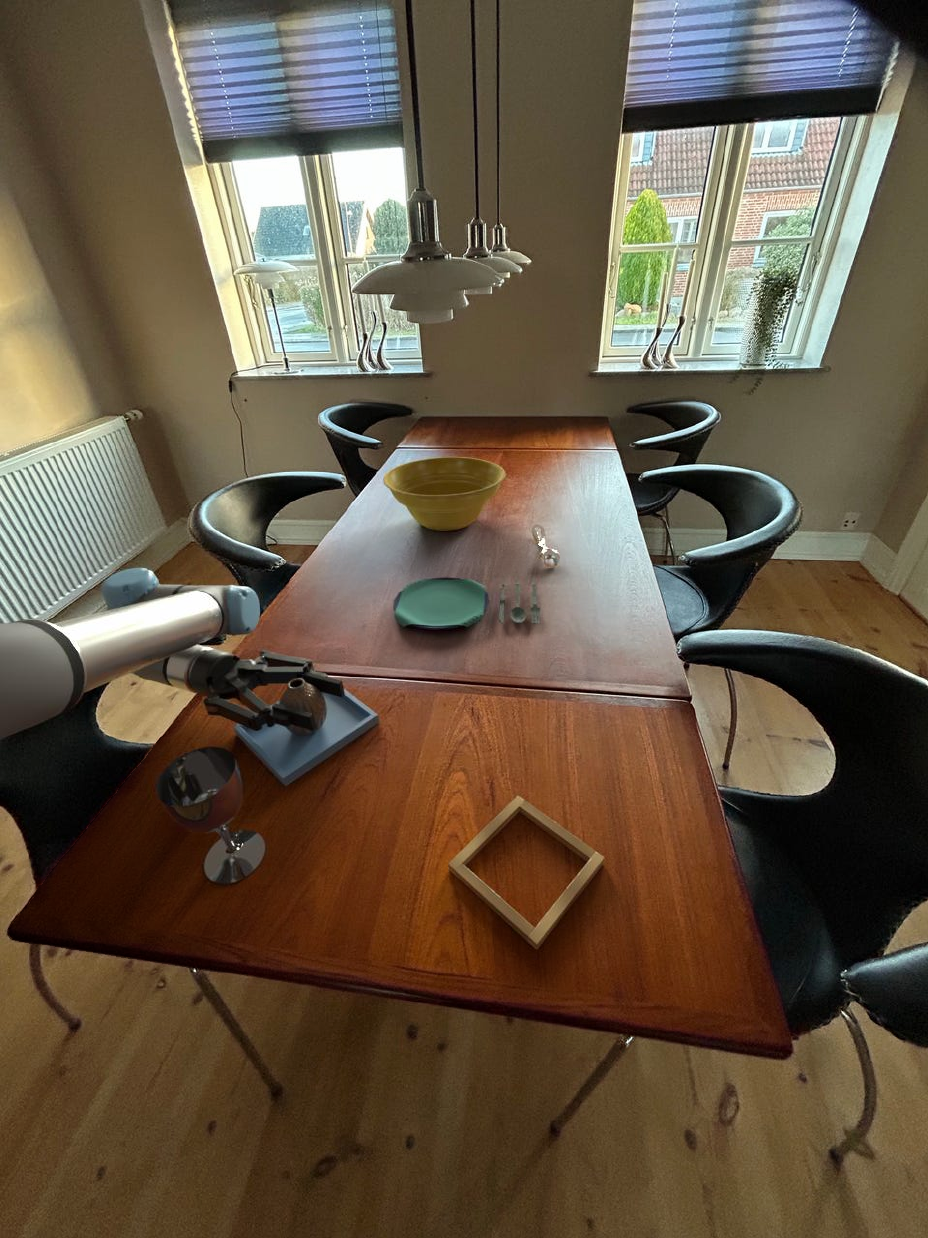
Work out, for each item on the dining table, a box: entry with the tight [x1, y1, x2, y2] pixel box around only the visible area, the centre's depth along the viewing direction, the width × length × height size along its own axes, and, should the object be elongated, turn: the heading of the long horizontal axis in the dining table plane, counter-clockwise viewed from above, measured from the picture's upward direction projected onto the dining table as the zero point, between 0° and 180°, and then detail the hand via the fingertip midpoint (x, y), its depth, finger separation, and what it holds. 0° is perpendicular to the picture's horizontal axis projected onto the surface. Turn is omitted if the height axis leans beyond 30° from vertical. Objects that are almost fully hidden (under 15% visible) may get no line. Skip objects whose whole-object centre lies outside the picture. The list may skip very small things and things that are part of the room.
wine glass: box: [155, 746, 266, 885], centre depth 61 cm, size 8×8×15 cm
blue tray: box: [232, 688, 380, 787], centre depth 82 cm, size 17×15×2 cm
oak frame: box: [447, 795, 605, 950], centre depth 62 cm, size 13×13×1 cm
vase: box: [278, 678, 327, 735], centre depth 80 cm, size 7×7×9 cm
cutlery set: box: [393, 576, 541, 631], centre depth 109 cm, size 20×30×2 cm, turn 86°
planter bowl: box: [382, 456, 506, 532], centre depth 143 cm, size 32×32×13 cm
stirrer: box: [530, 524, 561, 568], centre depth 130 cm, size 20×4×5 cm
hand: (328, 705), depth 77 cm, fingers closed on vase, 7 cm apart
